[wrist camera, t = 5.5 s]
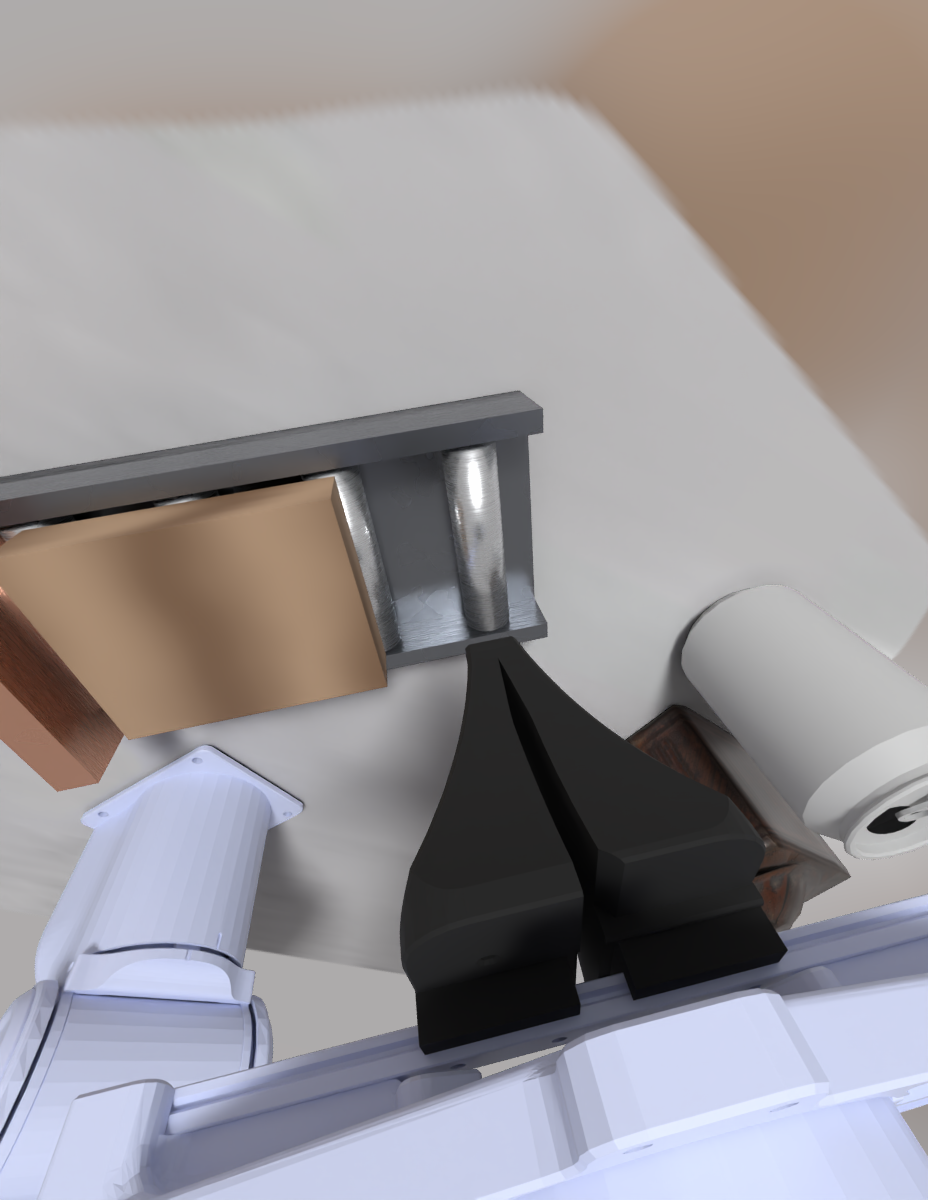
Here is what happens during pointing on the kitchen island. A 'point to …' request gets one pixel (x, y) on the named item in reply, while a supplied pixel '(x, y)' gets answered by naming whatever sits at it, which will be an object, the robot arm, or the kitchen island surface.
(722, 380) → the kitchen island surface
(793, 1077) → the robot arm
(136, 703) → the tan flat block
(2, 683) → the roller bed
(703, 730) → the manual coffee grinder
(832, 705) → the can
